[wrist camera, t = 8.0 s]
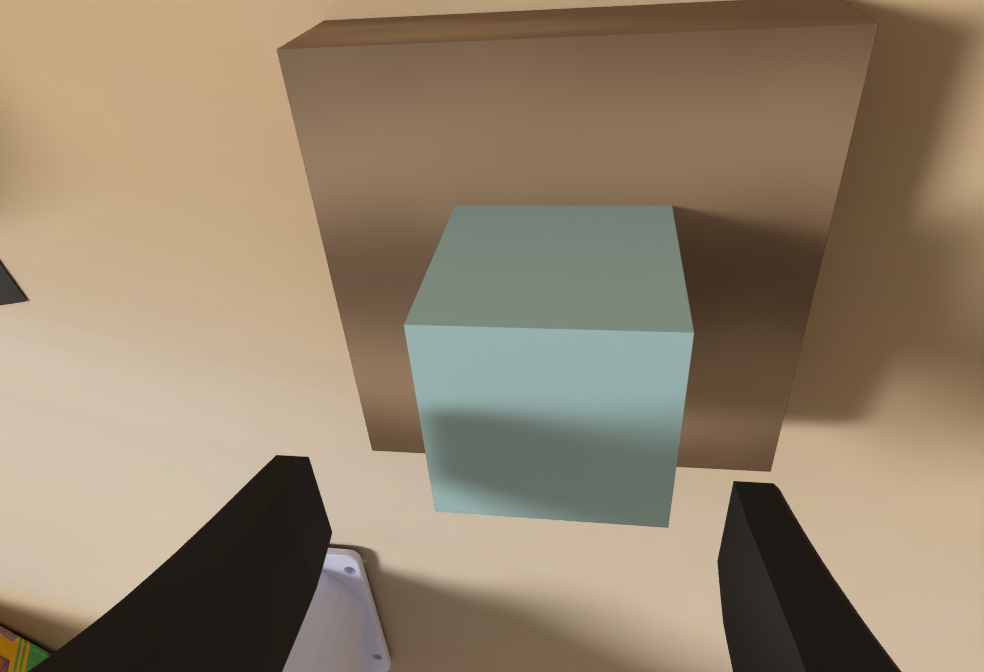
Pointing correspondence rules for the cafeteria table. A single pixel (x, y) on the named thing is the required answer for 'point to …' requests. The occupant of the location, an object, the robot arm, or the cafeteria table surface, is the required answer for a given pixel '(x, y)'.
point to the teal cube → (553, 362)
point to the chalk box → (18, 653)
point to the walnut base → (590, 172)
